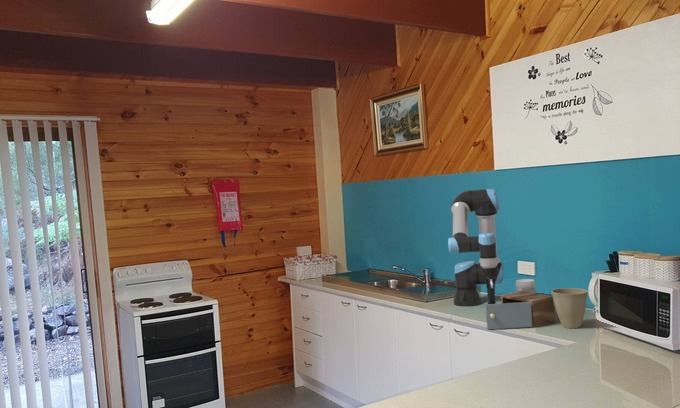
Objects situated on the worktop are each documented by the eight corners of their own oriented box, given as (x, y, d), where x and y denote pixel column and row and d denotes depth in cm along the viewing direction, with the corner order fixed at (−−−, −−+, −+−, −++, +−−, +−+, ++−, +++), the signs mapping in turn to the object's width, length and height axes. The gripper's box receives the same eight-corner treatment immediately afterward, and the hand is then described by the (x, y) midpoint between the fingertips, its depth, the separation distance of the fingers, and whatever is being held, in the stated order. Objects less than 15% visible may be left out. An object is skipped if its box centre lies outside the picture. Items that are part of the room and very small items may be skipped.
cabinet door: (531, 326, 242) (529, 302, 242) (533, 327, 240) (531, 303, 240) (487, 328, 245) (485, 304, 245) (488, 329, 242) (486, 305, 242)
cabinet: (502, 319, 260) (500, 295, 260) (523, 314, 266) (522, 290, 266) (534, 327, 242) (532, 300, 242) (556, 321, 248) (554, 296, 248)
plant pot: (587, 331, 229) (584, 294, 228) (550, 329, 237) (548, 293, 236) (592, 323, 241) (590, 288, 241) (557, 321, 249) (555, 287, 249)
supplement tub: (540, 307, 279) (538, 279, 279) (531, 311, 273) (529, 282, 273) (523, 305, 286) (521, 278, 286) (514, 309, 280) (512, 281, 280)
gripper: (499, 268, 240) (503, 320, 241) (495, 264, 253) (499, 313, 253) (482, 269, 241) (485, 321, 242) (479, 265, 254) (483, 314, 255)
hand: (492, 317), depth 248 cm, fingers closed
